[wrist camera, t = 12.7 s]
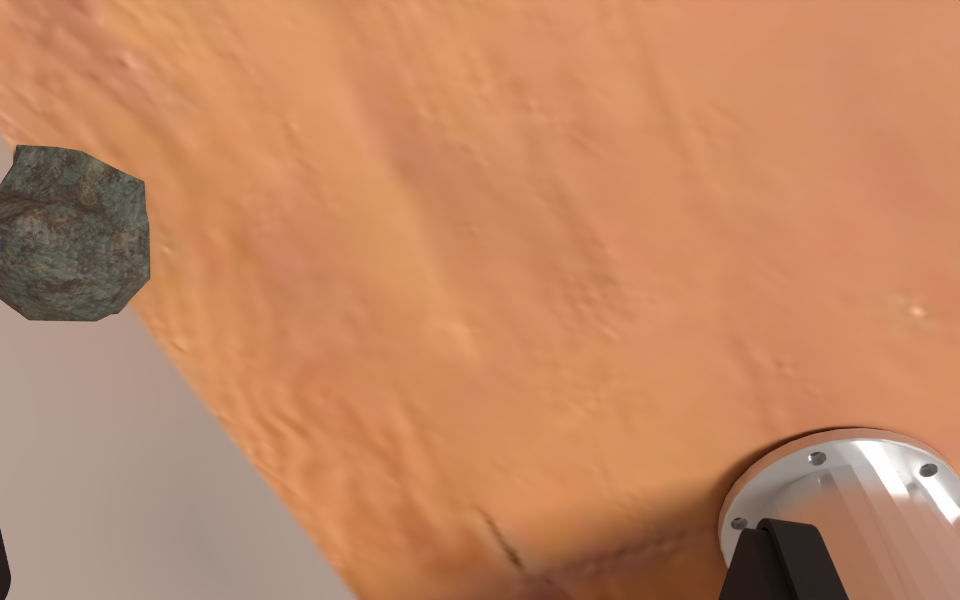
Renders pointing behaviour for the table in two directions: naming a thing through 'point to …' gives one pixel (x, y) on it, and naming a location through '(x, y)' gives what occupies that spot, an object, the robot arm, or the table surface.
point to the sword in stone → (70, 236)
